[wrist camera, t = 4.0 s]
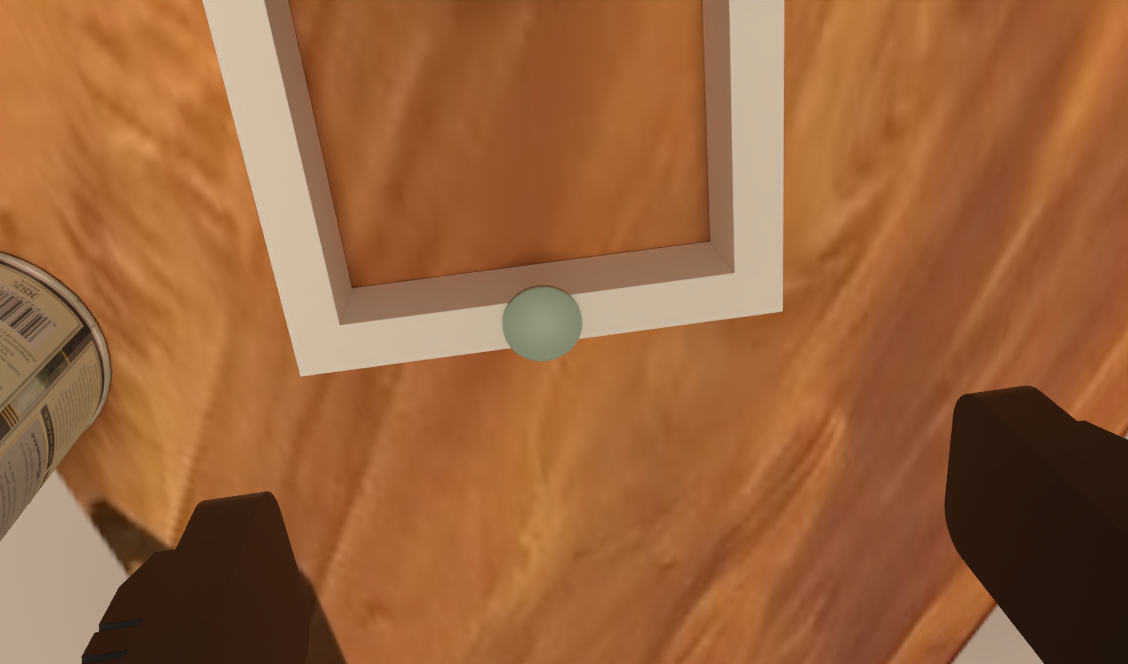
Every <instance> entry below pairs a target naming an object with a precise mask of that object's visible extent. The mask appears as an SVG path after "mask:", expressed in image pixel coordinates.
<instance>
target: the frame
mask: <svg viewBox="0 0 1128 664" xmlns="http://www.w3.org/2000/svg"><path fill="white" fill-rule="evenodd" d="M203 4H204V8H205V11H206V15H207V19H208V23H209V27H210V31H211V34H212V38H213V42H214V46H215V50H216V54H217V57H218V61H219V65H220V69H221V73H222V77H223V80H224V84H225V88H226V92H227V96H228V100H229V103H230V107H231V111H232V115H233V119H234V123H235V126H236V130H237V134H238V138H239V142H240V146H241V149H242V153H243V157H244V161H245V165H246V169H247V173H248V176H249V180H250V184H251V188H252V192H253V196H254V199H255V203H256V207H257V211H258V215H259V219H260V222H261V226H262V230H263V234H264V238H265V242H266V245H267V249H268V253H269V257H270V261H271V265H272V268H273V272H274V276H275V280H276V284H277V288H278V291H279V295H280V299H281V303H282V307H283V311H284V314H285V318H286V322H287V326H288V330H289V334H290V337H291V341H292V345H293V349H294V353H295V357H296V360H297V364H298V368H299V372H300V376H308V375H315V374H322V373H330V372H337V371H345V370H352V369H359V368H367V367H374V366H382V365H389V364H397V363H404V362H411V361H419V360H426V359H434V358H441V357H449V356H456V355H463V354H471V353H478V352H486V351H493V350H500V349H508V348H512V349H513V350H514V351H515V352H516V353H517V354H519V355H520V356H522V357H524V358H527V359H530V360H534V361H549V360H553V359H556V358H559V357H561V356H563V355H564V354H566V353H567V352H568V351H570V350H571V349H572V348H573V347H574V345H575V344H576V343H577V341H578V339H582V338H589V337H597V336H604V335H612V334H619V333H627V332H634V331H641V330H649V329H656V328H664V327H671V326H679V325H686V324H693V323H701V322H708V321H716V320H723V319H730V318H738V317H745V316H753V315H760V314H768V313H775V312H782V311H783V153H784V0H702V5H703V36H704V67H705V98H706V129H707V160H708V191H709V222H710V242H702V243H695V244H687V245H679V246H672V247H664V248H656V249H649V250H641V251H633V252H626V253H618V254H610V255H603V256H595V257H587V258H580V259H572V260H564V261H557V262H549V263H541V264H534V265H526V266H518V267H511V268H503V269H495V270H488V271H480V272H472V273H465V274H457V275H449V276H442V277H434V278H427V279H419V280H411V281H404V282H396V283H388V284H381V285H373V286H365V287H358V288H352V286H351V282H350V277H349V273H348V268H347V264H346V259H345V255H344V250H343V246H342V241H341V236H340V232H339V227H338V223H337V218H336V214H335V209H334V205H333V200H332V196H331V191H330V187H329V182H328V178H327V173H326V169H325V164H324V160H323V155H322V151H321V146H320V142H319V137H318V133H317V128H316V124H315V119H314V115H313V110H312V106H311V101H310V97H309V92H308V88H307V83H306V79H305V74H304V70H303V65H302V60H301V56H300V51H299V47H298V42H297V38H296V33H295V29H294V24H293V20H292V15H291V11H290V6H289V2H288V0H203Z"/></svg>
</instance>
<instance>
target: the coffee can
mask: <svg viewBox="0 0 1128 664" xmlns="http://www.w3.org/2000/svg"><path fill="white" fill-rule="evenodd" d="M110 379H111V369H110V361H109V354H108V350H107V347H106V343H105V340H104V337H103V335H102V333H101V331H100V329H99V327H98V325H97V323H96V321H95V320H94V318H93V317H92V315H91V314H90V312H89V311H88V310H87V308H86V307H85V306H84V305H83V303H82V302H81V301H80V300H79V298H78V297H77V296H75V295H74V294H73V293H72V292H71V291H70V290H68V289H67V288H66V287H65V286H64V285H62V284H61V283H60V282H59V281H57V280H56V279H55V278H54V277H52V276H50V275H49V274H47V273H46V272H44V271H43V270H41V269H39V268H38V267H36V266H34V265H32V264H30V263H28V262H25V261H23V260H21V259H18V258H16V257H13V256H10V255H7V254H4V253H1V252H0V541H1V540H2V538H3V537H4V536H5V534H6V533H7V532H8V530H9V529H10V528H11V526H12V525H13V524H14V522H15V521H16V520H17V519H18V517H19V516H20V515H21V513H22V512H23V510H24V509H25V508H26V506H27V505H28V504H29V503H30V502H31V500H32V499H33V498H34V496H35V495H36V493H37V492H38V491H39V489H40V488H41V487H42V485H43V484H44V483H45V482H46V480H47V479H48V478H49V476H50V475H51V474H52V473H53V471H54V470H55V469H56V467H57V466H58V465H59V463H60V462H61V461H62V459H63V458H64V457H65V455H66V454H67V453H68V451H69V450H70V449H71V447H72V446H73V445H74V443H75V442H76V441H77V439H78V438H79V437H80V435H81V434H82V433H83V432H84V431H85V430H86V429H87V428H88V427H89V426H90V425H91V424H92V423H93V422H94V420H95V419H96V417H97V416H98V414H99V413H100V412H101V410H102V407H103V405H104V403H105V400H106V398H107V394H108V390H109V384H110Z"/></svg>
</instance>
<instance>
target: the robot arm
mask: <svg viewBox="0 0 1128 664" xmlns="http://www.w3.org/2000/svg"><path fill="white" fill-rule="evenodd" d="M945 517H946V523H947V527H948V531H949V534H950V537H951V539H952V542H953V544H954V546H955V548H956V550H957V552H958V553H959V555H960V556H961V558H962V559H963V560H964V562H965V563H966V564H967V566H968V567H969V568H970V569H971V571H972V572H973V573H974V575H975V576H976V577H977V578H978V580H979V581H980V582H981V583H982V585H983V586H984V587H985V589H986V590H987V591H988V592H989V594H990V595H991V596H992V598H993V599H994V600H995V601H996V603H997V604H998V605H999V607H1000V608H1001V609H1002V610H1003V612H1004V613H1005V614H1006V615H1007V617H1008V618H1009V619H1010V621H1011V622H1012V623H1013V624H1014V626H1015V627H1016V628H1017V630H1018V631H1019V632H1020V633H1021V635H1022V636H1023V637H1024V639H1025V640H1026V641H1027V642H1028V644H1029V645H1030V646H1031V647H1032V649H1033V650H1034V651H1035V653H1036V654H1037V655H1038V656H1039V658H1040V659H1041V660H1042V661H1043V663H1044V664H1128V440H1127V439H1125V438H1123V437H1120V436H1118V435H1116V434H1114V433H1111V432H1109V431H1107V430H1105V429H1102V428H1100V427H1098V426H1096V425H1093V424H1091V423H1089V422H1087V421H1076V420H1075V419H1074V418H1073V417H1071V416H1070V415H1069V414H1068V413H1067V412H1065V411H1064V410H1063V409H1062V408H1060V407H1059V406H1058V405H1057V404H1055V403H1054V402H1053V401H1052V400H1050V399H1049V398H1048V397H1047V396H1046V395H1044V394H1043V393H1042V392H1041V391H1039V390H1038V389H1036V388H1034V387H1032V386H1019V387H1012V388H1005V389H998V390H991V391H984V392H977V393H970V394H965V395H963V396H961V397H960V398H959V399H958V401H957V403H956V405H955V408H954V413H953V422H952V432H951V442H950V452H949V462H948V473H947V483H946V493H945ZM308 646H309V612H308V605H307V600H306V595H305V592H304V588H303V585H302V581H301V578H300V575H299V571H298V568H297V565H296V561H295V558H294V555H293V551H292V548H291V545H290V541H289V538H288V534H287V531H286V528H285V524H284V521H283V518H282V514H281V511H280V508H279V505H278V503H277V500H276V499H275V497H274V495H273V494H272V493H270V492H260V493H253V494H246V495H239V496H232V497H225V498H218V499H211V500H204V501H201V502H200V503H199V504H198V505H197V506H196V508H195V510H194V512H193V514H192V516H191V518H190V520H189V522H188V525H187V527H186V529H185V531H184V533H183V535H182V537H181V539H180V541H179V543H178V545H177V547H176V549H175V550H169V551H162V552H155V553H154V554H153V555H152V556H151V557H150V558H149V559H148V560H147V561H146V562H145V563H144V564H143V565H142V566H141V567H140V568H139V569H137V570H136V571H135V572H134V573H133V574H132V575H131V576H130V577H129V578H128V579H127V580H126V581H125V582H124V583H123V584H122V585H121V586H120V587H119V588H118V590H117V592H116V594H115V596H114V598H113V599H112V601H111V603H110V605H109V607H108V609H107V611H106V613H105V614H104V616H103V618H102V620H101V622H100V624H99V632H96V633H94V635H93V637H92V638H91V640H90V642H89V644H88V646H87V648H86V650H85V651H84V654H83V655H82V664H305V661H306V657H307V652H308Z"/></svg>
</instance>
